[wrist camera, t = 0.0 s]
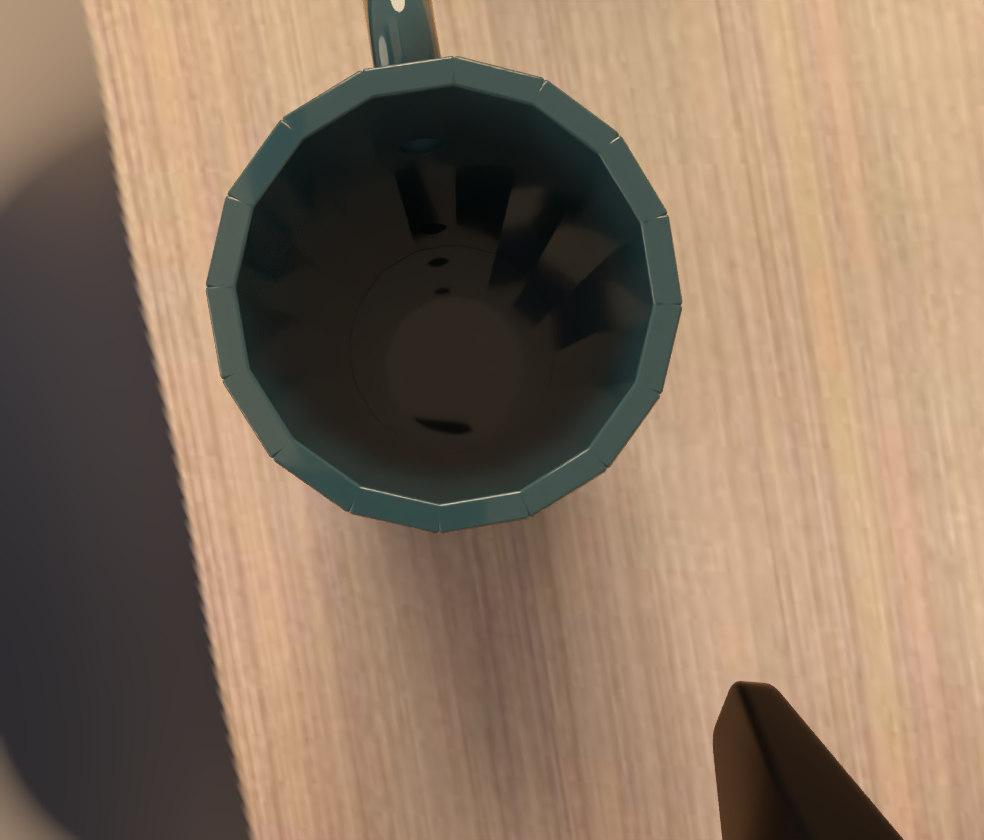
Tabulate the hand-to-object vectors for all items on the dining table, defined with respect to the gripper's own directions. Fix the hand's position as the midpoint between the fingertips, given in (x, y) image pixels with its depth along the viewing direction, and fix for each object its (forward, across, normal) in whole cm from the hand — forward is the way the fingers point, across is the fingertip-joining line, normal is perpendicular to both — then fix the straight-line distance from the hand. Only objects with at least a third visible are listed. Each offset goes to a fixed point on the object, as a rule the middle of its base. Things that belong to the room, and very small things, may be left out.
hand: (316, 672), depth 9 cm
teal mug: (+17, 0, +4) cm, 18 cm away
